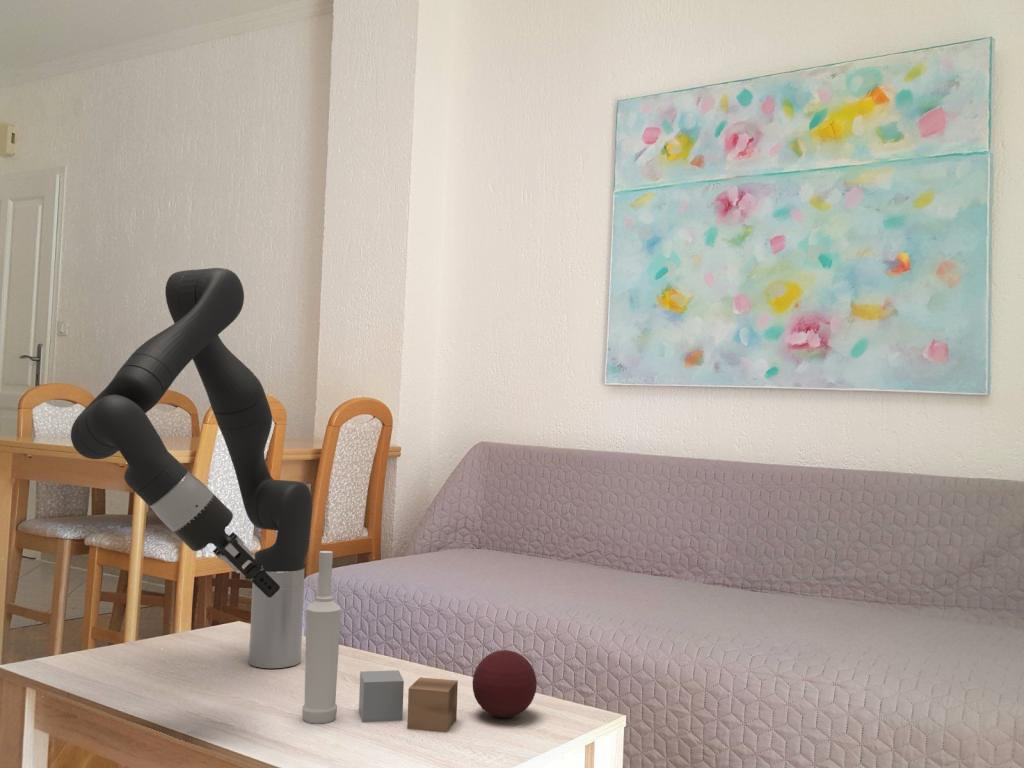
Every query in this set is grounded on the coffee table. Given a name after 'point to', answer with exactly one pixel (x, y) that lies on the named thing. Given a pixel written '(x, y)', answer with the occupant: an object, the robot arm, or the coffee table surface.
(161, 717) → the coffee table surface
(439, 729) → the walnut cube
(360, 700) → the slate grey cube
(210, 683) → the coffee table surface
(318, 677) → the bottle
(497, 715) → the decorative ball
